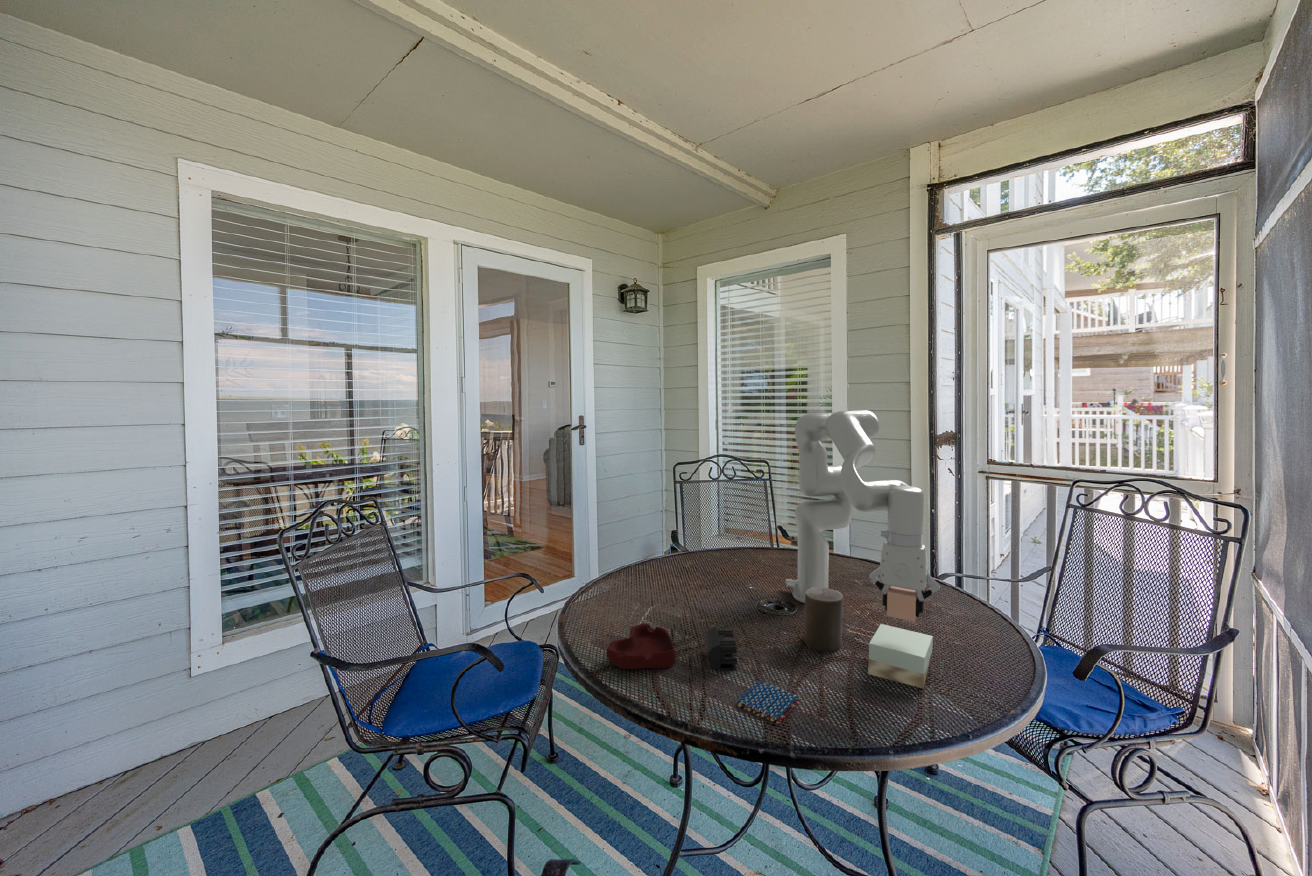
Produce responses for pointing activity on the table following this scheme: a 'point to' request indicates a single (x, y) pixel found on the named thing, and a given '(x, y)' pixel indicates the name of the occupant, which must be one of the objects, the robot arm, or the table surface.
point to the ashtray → (643, 649)
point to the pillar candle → (823, 619)
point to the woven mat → (768, 701)
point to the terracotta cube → (901, 603)
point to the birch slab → (897, 673)
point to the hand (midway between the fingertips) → (902, 611)
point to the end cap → (721, 649)
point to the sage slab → (901, 648)
